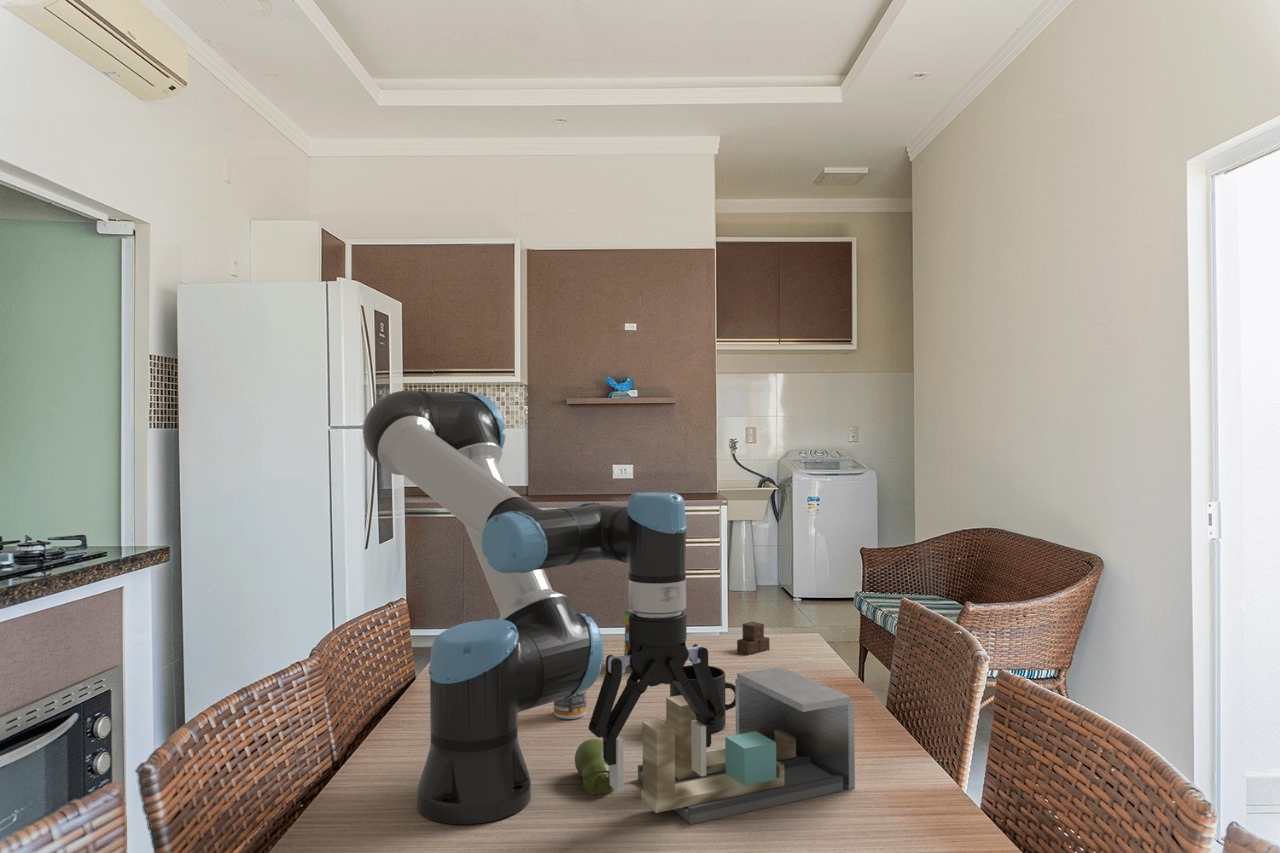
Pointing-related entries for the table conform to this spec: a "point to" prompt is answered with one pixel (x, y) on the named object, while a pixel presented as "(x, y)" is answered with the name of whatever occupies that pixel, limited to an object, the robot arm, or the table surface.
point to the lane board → (764, 791)
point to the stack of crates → (753, 639)
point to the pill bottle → (571, 706)
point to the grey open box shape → (799, 717)
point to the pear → (593, 767)
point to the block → (750, 758)
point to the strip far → (680, 720)
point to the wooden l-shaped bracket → (670, 796)
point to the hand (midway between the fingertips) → (658, 780)
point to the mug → (720, 685)
